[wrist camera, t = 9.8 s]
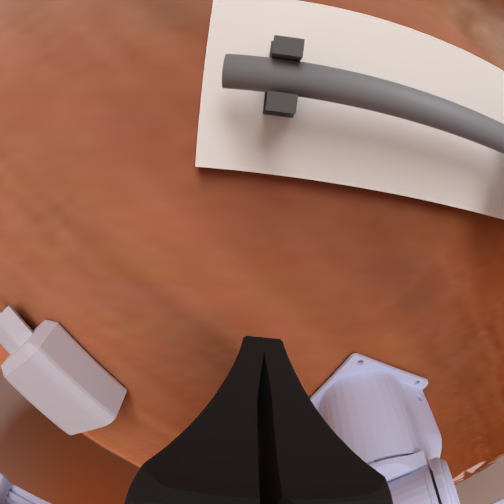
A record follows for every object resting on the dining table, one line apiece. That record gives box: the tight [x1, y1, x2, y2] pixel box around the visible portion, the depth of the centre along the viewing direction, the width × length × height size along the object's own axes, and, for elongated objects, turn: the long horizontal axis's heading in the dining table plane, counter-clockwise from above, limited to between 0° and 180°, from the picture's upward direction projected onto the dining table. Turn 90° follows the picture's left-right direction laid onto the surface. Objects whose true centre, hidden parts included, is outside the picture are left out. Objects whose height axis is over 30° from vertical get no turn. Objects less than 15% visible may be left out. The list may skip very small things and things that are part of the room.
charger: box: [0, 305, 127, 435], centre depth 23 cm, size 5×9×15 cm
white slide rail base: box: [195, 0, 504, 220], centre depth 13 cm, size 29×10×6 cm, turn 84°
